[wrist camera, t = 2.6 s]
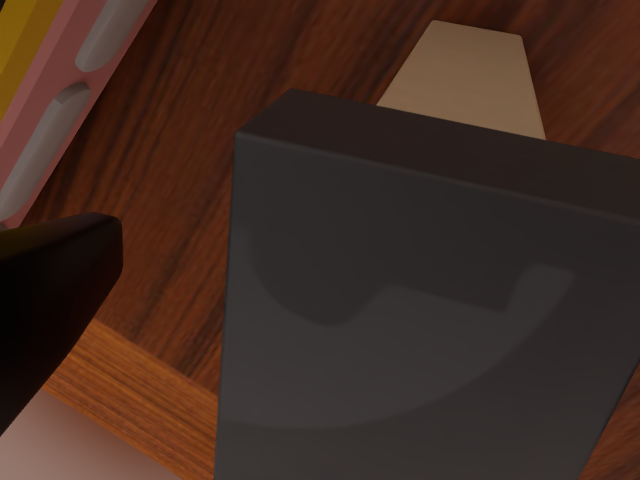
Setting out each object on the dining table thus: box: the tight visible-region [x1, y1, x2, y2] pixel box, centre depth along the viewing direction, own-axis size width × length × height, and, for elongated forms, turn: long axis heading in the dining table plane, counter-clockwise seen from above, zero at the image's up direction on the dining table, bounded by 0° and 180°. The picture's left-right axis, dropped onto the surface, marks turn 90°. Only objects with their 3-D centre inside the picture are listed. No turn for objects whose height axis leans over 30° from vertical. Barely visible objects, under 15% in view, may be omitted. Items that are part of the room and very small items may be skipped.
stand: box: [377, 20, 546, 140], centre depth 14 cm, size 3×5×13 cm, turn 172°
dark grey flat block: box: [213, 88, 640, 480], centre depth 8 cm, size 4×7×2 cm, turn 172°
